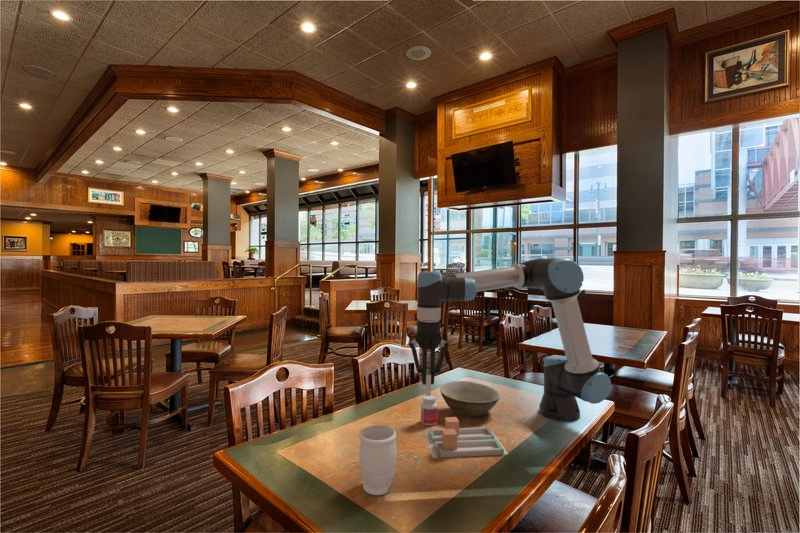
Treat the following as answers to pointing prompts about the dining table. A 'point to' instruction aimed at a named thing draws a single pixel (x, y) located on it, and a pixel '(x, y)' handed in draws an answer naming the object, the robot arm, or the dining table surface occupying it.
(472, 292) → the robot arm
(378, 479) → the jar
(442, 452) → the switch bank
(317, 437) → the dining table surface
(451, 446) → the tab
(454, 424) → the tab
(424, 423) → the pill bottle
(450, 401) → the bowl
